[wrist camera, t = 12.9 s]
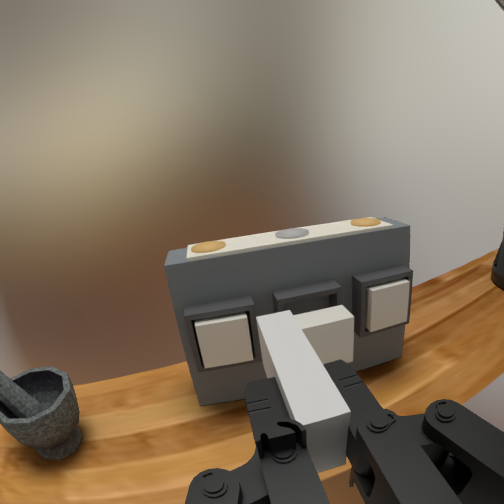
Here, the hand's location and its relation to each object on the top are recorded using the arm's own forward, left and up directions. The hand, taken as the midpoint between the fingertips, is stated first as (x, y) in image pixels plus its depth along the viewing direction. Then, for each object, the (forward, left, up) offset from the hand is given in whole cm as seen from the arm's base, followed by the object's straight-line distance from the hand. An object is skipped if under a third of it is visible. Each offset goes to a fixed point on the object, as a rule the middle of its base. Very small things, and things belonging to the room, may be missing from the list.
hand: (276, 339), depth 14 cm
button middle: (-6, -10, -9) cm, 14 cm away
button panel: (-6, -16, -16) cm, 23 cm away
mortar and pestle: (+23, -10, -16) cm, 30 cm away
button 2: (-14, -13, -9) cm, 21 cm away
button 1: (+2, -13, -9) cm, 16 cm away
